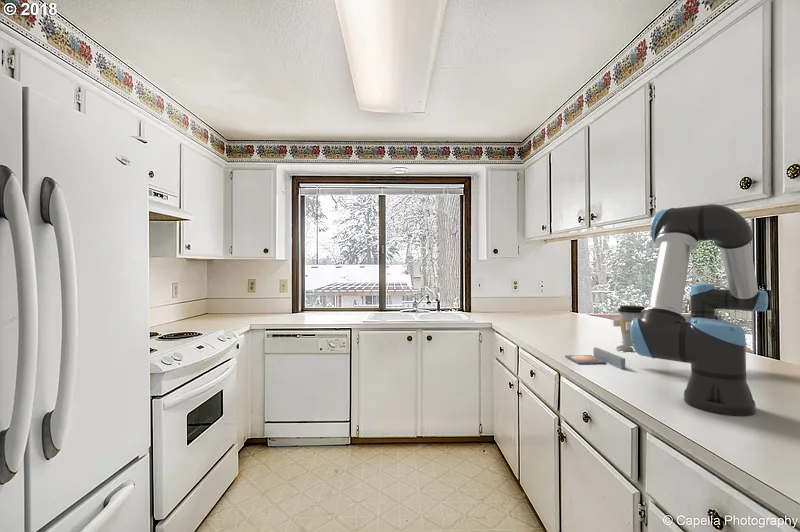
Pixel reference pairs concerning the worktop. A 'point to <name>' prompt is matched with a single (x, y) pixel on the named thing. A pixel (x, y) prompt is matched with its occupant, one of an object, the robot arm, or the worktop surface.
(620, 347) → the toy dinosaur
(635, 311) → the coffee cup
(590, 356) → the mat
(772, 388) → the worktop surface
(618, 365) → the blue-grey rectangular bar
